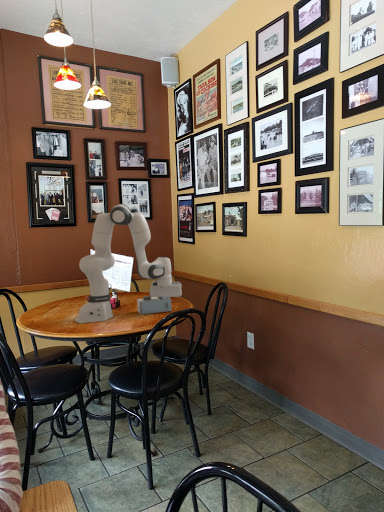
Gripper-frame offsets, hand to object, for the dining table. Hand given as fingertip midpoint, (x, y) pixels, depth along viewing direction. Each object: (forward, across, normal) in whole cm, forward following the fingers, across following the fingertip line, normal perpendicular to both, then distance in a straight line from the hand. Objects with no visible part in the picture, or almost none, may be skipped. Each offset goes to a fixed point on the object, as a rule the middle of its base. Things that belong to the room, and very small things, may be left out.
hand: (166, 303), depth 226 cm
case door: (+4, +6, +5) cm, 9 cm away
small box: (+5, +7, -25) cm, 27 cm away
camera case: (+5, +11, 0) cm, 12 cm away
